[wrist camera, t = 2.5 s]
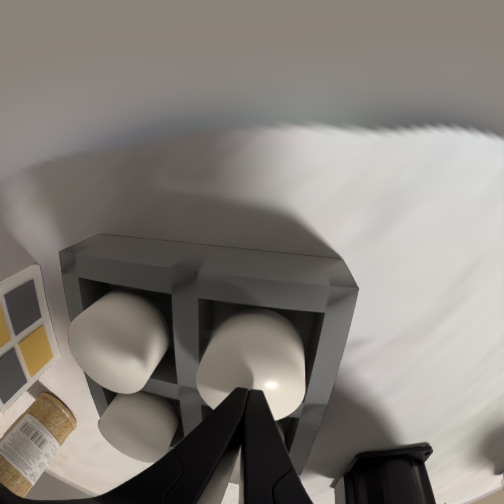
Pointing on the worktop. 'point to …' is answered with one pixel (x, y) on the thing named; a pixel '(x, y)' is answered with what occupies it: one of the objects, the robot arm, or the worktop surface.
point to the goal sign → (24, 334)
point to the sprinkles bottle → (33, 443)
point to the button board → (219, 314)
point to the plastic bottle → (502, 482)
